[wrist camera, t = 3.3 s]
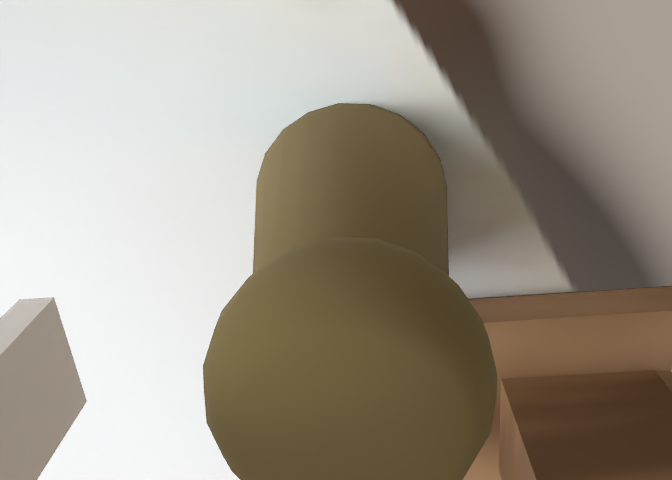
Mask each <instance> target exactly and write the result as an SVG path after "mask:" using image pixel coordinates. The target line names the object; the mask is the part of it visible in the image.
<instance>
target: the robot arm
mask: <svg viewBox="0 0 672 480" xmlns="http://www.w3.org/2000/svg"><path fill="white" fill-rule="evenodd" d="M671 372H672V371H671ZM85 403H86V398H85V394H84V391H83V388H82V385H81V382H80V379H79V375H78V372H77V369H76V366H75V363H74V360H73V356H72V353H71V350H70V347H69V344H68V341H67V337H66V334H65V331H64V328H63V325H62V322H61V319H60V315H59V312H58V309H57V306H56V303H55V300H54V298H38V299H23V300H19V301H18V302H17V303H16V304H15V305H14V306H13V307H12V308H11V309H10V310H8V311H7V312H6V313H5V314H4V315H3V316H2V317H1V318H0V480H37V479H38V477H39V476H40V474H41V472H42V471H43V469H44V468H45V466H46V465H47V463H48V461H49V460H50V458H51V457H52V455H53V454H54V452H55V450H56V449H57V447H58V446H59V444H60V442H61V441H62V439H63V438H64V436H65V435H66V433H67V431H68V430H69V428H70V427H71V425H72V424H73V422H74V420H75V419H76V417H77V416H78V414H79V412H80V411H81V409H82V408H83V406H84V405H85Z"/></svg>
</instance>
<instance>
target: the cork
mask: <svg viewBox="0 0 672 480" xmlns="http://www.w3.org/2000/svg"><path fill="white" fill-rule="evenodd" d="M203 376H204V395H205V407H206V419H207V424H208V426H209V428H210V430H211V432H212V434H213V436H214V438H215V440H216V442H217V445H218V447H219V449H220V451H221V453H222V455H223V457H224V458H225V460H226V462H227V464H228V465H229V467H230V469H231V470H232V472H233V473H234V474H235V475H236V476H237V477H238V478H239V479H240V480H463V478H464V477H465V475H466V473H467V472H468V470H469V469H470V467H471V465H472V464H473V462H474V460H475V459H476V457H477V455H478V453H479V452H480V450H481V448H482V447H483V445H484V443H485V442H486V440H487V438H488V437H489V435H490V433H491V429H492V423H493V417H494V410H495V404H496V398H497V381H498V374H497V370H496V366H495V361H494V357H493V353H492V349H491V344H490V340H489V336H488V334H487V331H486V329H485V326H484V324H483V321H482V319H481V317H480V316H479V314H478V313H477V311H476V310H475V309H474V307H473V306H472V304H471V303H470V301H469V300H468V298H467V297H466V296H465V294H464V293H463V291H462V290H461V288H460V287H459V286H458V285H457V284H456V283H455V282H454V281H453V280H452V279H451V278H450V277H449V269H448V227H447V187H446V182H445V178H444V174H443V170H442V166H441V161H440V158H439V157H438V155H437V154H436V152H435V150H434V149H433V147H432V146H431V144H430V143H429V141H428V140H427V138H426V137H425V135H424V134H423V133H422V132H421V131H419V130H418V129H417V128H416V127H414V126H413V125H412V124H411V123H409V122H408V121H407V120H405V119H404V118H403V117H402V116H400V115H398V114H395V113H393V112H390V111H387V110H384V109H382V108H379V107H376V106H373V105H370V104H335V105H332V106H328V107H325V108H322V109H318V110H315V111H311V112H308V113H307V114H305V115H304V116H302V117H301V118H299V119H298V120H297V121H295V122H294V123H292V124H291V125H289V126H288V127H286V128H285V129H284V130H283V131H282V132H281V133H280V135H279V136H278V137H277V139H276V140H275V141H274V143H273V144H272V145H271V147H270V148H269V149H268V151H267V152H266V153H265V156H264V160H263V163H262V166H261V169H260V172H259V176H258V179H257V188H256V212H255V237H254V261H253V274H252V275H251V276H250V277H249V278H248V279H247V280H246V281H245V283H244V284H243V285H242V286H241V288H240V289H239V290H238V291H237V293H236V294H235V295H234V296H233V298H232V299H231V300H230V301H229V303H228V304H227V305H226V306H225V308H224V309H223V310H222V312H221V315H220V317H219V319H218V322H217V324H216V327H215V330H214V333H213V336H212V339H211V342H210V345H209V349H208V352H207V355H206V358H205V361H204V364H203Z"/></svg>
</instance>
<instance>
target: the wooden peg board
mask: <svg viewBox="0 0 672 480" xmlns="http://www.w3.org/2000/svg"><path fill="white" fill-rule="evenodd" d="M468 300H469V301H470V303H471V304H472V306H473V307H474V309H475V310H476V311H477V313H478V314H479V316H480V317H481V319H482V321H483V324H484V326H485V329H486V331H487V334H488V336H489V340H490V344H491V349H492V353H493V357H494V361H495V366H496V370H497V374H498V381H497V398H496V404H495V410H494V417H493V423H492V429H491V433H490V435H489V437H488V438H487V440H486V442H485V443H484V445H483V447H482V448H481V450H480V452H479V453H478V455H477V457H476V459H475V460H474V462H473V464H472V465H471V467H470V469H469V470H468V472H467V473H466V475H465V477H464V478H463V480H672V372H671V371H672V286H662V287H649V288H632V289H617V290H602V291H588V292H572V293H557V294H542V295H527V296H512V297H497V298H482V299H468Z"/></svg>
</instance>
